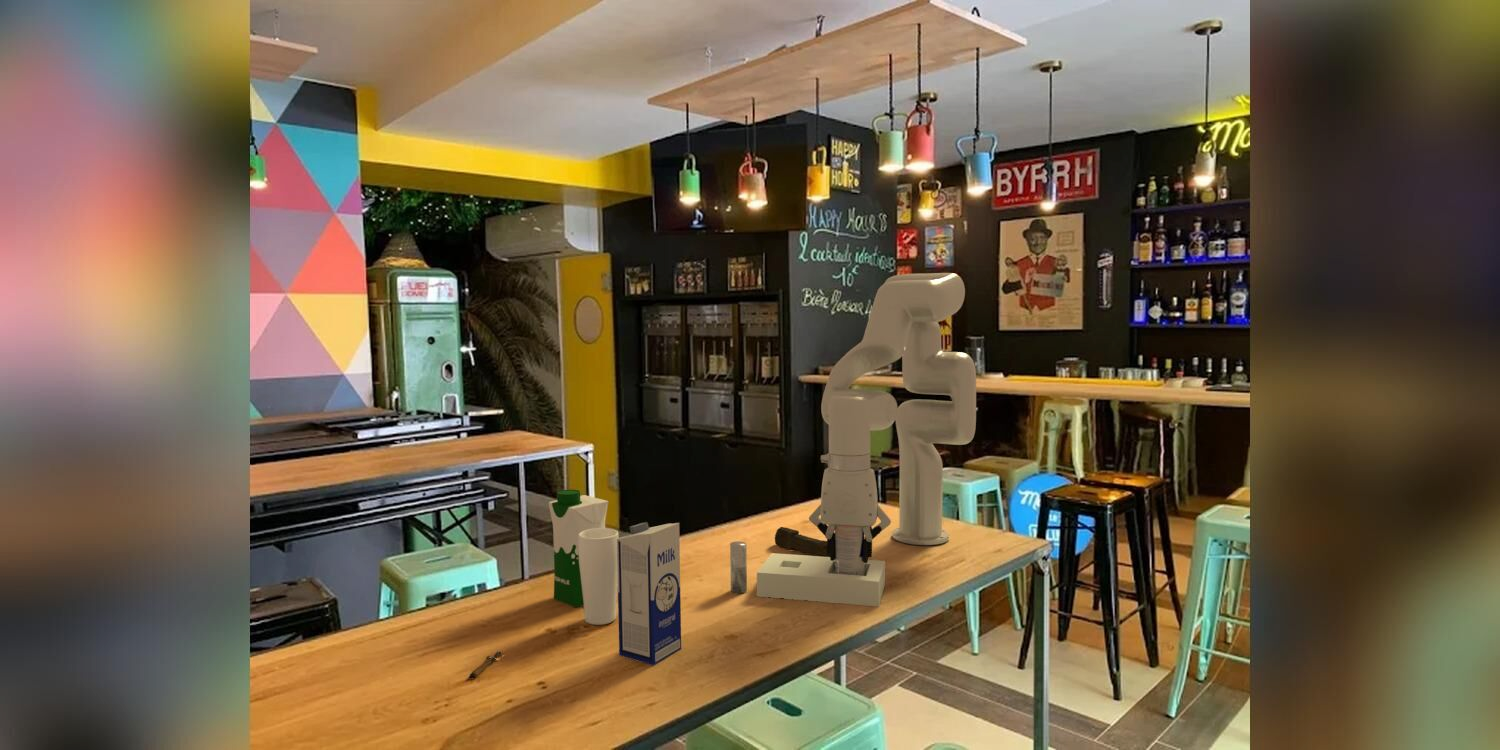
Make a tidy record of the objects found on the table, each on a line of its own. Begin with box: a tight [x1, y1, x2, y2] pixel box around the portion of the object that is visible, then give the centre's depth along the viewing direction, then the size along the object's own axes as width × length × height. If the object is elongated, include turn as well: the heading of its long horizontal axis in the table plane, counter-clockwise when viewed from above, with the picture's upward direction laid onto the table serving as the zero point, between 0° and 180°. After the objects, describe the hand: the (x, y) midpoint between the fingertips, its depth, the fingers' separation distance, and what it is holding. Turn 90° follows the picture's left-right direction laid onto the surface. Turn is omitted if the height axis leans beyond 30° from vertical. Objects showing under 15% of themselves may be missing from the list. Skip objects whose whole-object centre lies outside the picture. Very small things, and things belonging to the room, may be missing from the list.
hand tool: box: [774, 526, 830, 557], centre depth 173 cm, size 19×4×5 cm, turn 43°
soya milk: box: [548, 489, 609, 609], centre depth 146 cm, size 9×9×20 cm
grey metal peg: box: [729, 541, 748, 595], centre depth 149 cm, size 3×3×9 cm
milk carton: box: [616, 521, 682, 666], centre depth 122 cm, size 7×7×20 cm
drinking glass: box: [578, 527, 620, 626], centre depth 135 cm, size 7×7×15 cm
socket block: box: [756, 552, 886, 608], centre depth 149 cm, size 12×22×4 cm, turn 75°
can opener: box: [468, 650, 502, 679], centre depth 119 cm, size 9×2×1 cm, turn 165°
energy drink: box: [834, 526, 865, 576], centre depth 148 cm, size 5×5×12 cm
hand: (849, 558), depth 148 cm, fingers closed on energy drink, 5 cm apart
